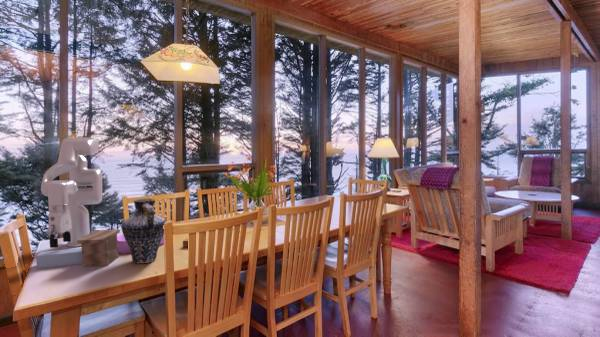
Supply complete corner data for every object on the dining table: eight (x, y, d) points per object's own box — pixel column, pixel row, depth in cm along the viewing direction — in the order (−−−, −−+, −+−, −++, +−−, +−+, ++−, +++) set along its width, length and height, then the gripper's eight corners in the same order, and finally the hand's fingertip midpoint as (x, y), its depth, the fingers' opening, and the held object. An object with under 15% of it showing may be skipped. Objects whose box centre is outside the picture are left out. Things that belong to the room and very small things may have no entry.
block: (37, 268, 153) (36, 256, 153) (41, 264, 159) (40, 252, 158) (82, 263, 159) (82, 251, 159) (85, 259, 165) (85, 247, 165)
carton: (182, 248, 182) (182, 240, 182) (194, 239, 198) (193, 232, 198) (197, 248, 182) (197, 240, 181) (207, 239, 197) (207, 232, 197)
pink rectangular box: (118, 255, 170) (116, 230, 169) (114, 247, 183) (112, 223, 182) (169, 246, 185) (168, 222, 184) (162, 239, 197) (161, 217, 196)
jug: (116, 261, 162) (113, 199, 159) (155, 250, 177) (153, 194, 174) (135, 271, 149) (132, 205, 146) (176, 259, 164) (174, 199, 161)
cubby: (79, 269, 152) (77, 240, 151) (98, 256, 169) (96, 230, 168) (104, 268, 153) (102, 239, 152) (120, 255, 170) (119, 229, 169)
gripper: (55, 211, 149) (57, 249, 150) (77, 205, 166) (79, 239, 167) (37, 212, 148) (39, 250, 149) (61, 205, 165) (63, 239, 166)
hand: (60, 244), depth 158 cm, fingers open, 9 cm apart
